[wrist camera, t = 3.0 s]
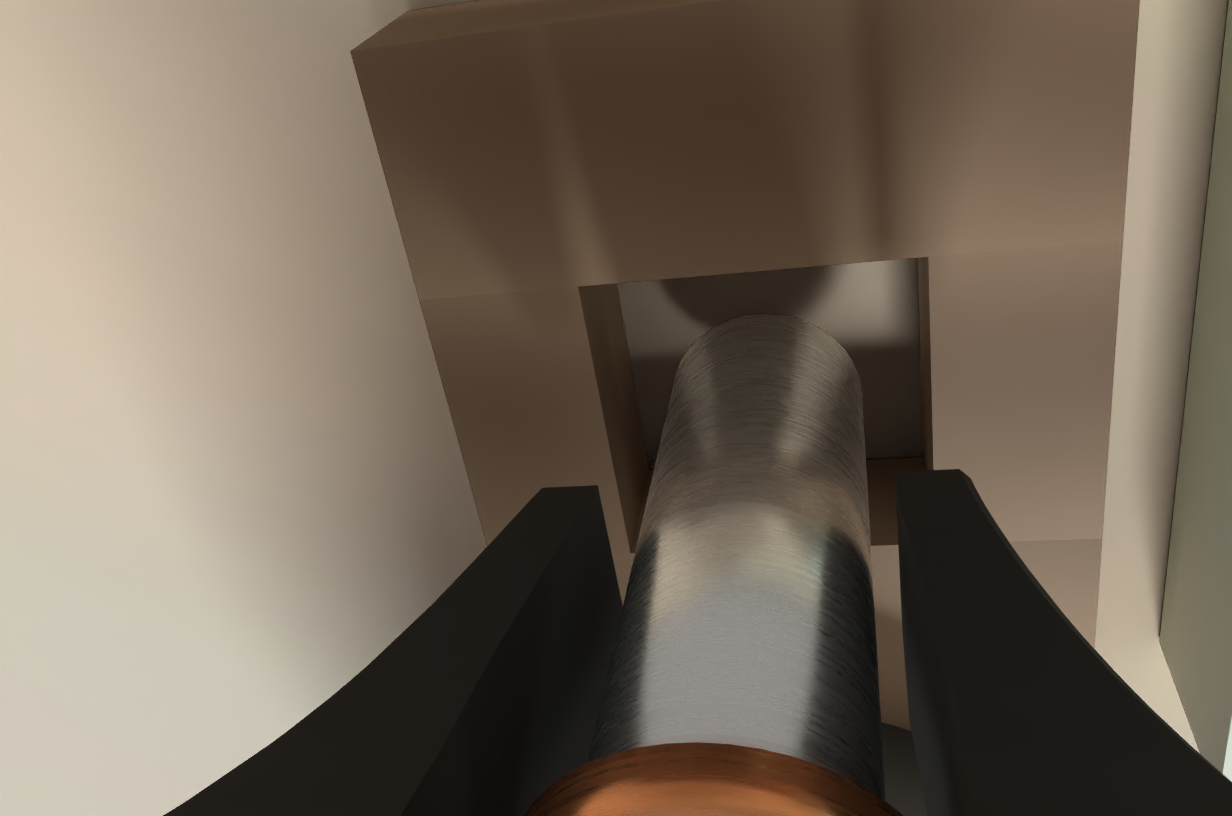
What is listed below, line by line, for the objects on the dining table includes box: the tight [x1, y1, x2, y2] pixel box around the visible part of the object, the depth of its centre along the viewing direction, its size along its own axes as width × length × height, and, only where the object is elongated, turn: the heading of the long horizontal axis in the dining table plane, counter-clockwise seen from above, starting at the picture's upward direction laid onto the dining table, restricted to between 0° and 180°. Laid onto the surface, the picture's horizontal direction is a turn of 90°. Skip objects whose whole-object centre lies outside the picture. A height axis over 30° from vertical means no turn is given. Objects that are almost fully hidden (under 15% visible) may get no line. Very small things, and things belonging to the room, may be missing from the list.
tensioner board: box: [350, 0, 1140, 816], centre depth 15 cm, size 18×8×6 cm, turn 9°
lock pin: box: [524, 314, 903, 816], centre depth 11 cm, size 3×3×8 cm
